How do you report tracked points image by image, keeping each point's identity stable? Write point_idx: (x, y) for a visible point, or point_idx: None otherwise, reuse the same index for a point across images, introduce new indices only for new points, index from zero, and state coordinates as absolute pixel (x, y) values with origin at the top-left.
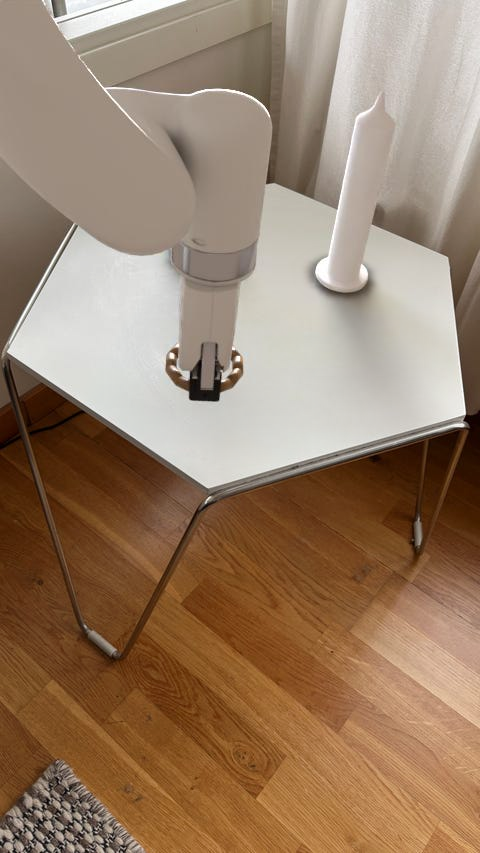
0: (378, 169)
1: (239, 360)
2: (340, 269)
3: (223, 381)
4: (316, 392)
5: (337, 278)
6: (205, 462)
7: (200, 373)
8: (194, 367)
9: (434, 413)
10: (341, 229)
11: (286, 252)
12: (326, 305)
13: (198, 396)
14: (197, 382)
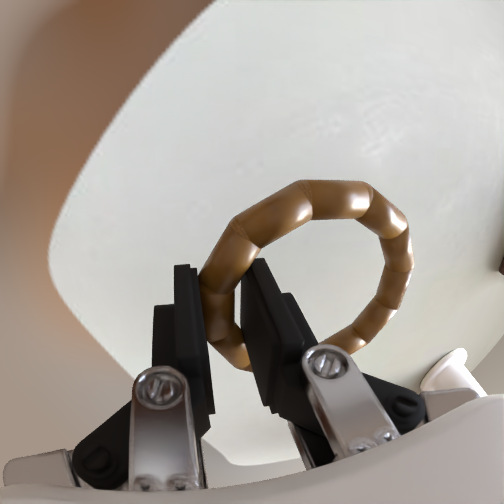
0: None
1: None
2: (446, 386)
3: (238, 356)
4: None
5: (440, 376)
6: (86, 257)
7: (81, 478)
8: (132, 449)
9: (239, 459)
10: None
11: (490, 314)
12: (415, 369)
13: (154, 315)
14: (173, 347)
